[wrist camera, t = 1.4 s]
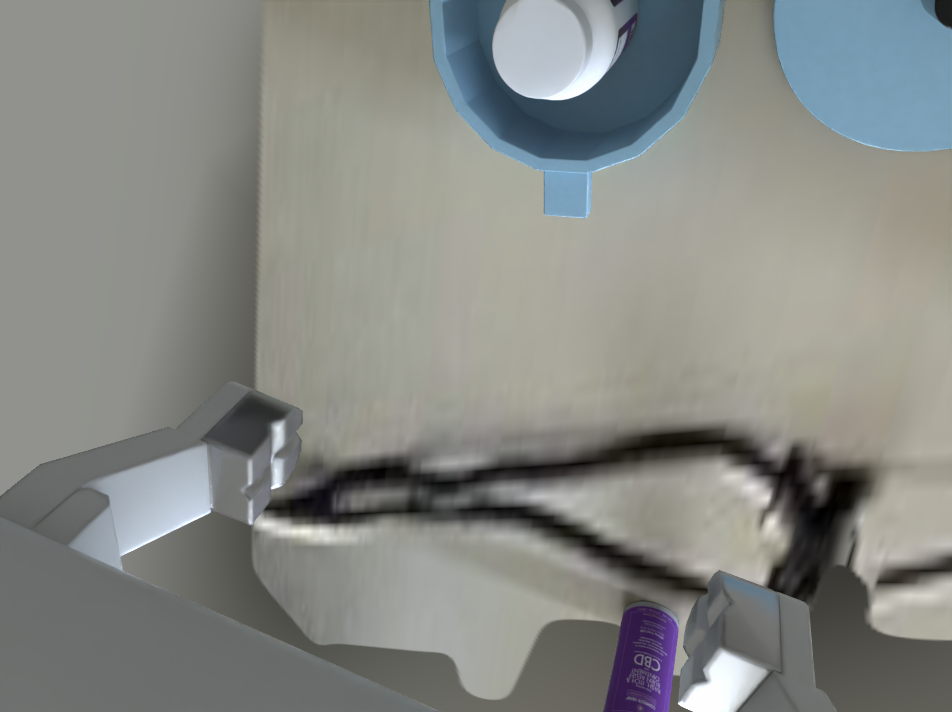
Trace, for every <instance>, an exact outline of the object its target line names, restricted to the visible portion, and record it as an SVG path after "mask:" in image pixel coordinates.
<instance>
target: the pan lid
mask: <svg viewBox="0 0 952 712" xmlns="http://www.w3.org/2000/svg"><path fill="white" fill-rule="evenodd" d="M774 36H775V42H776V47H777V53H778V57H779V60H780V63H781V66H782V69H783V72H784V74H785V76H786V78H787V80H788V82H789V84H790V86H791V88H792V90H793V91H794V93H795V94H796V96H797V97H798V98H799V100H800V101H801V103H802V104H803V105H804V106H805V107H806V108H807V109H808V110H809V111H810V112H811V113H812V114H813V115H814V116H815V117H816V118H817V119H818V120H819V121H821V122H822V123H823V124H825V125H826V126H827V127H829V128H830V129H832V130H834V131H835V132H837V133H839V134H841V135H843V136H845V137H846V138H849V139H851V140H854V141H857V142H859V143H862V144H865V145H869V146H873V147H877V148H882V149H887V150H897V151H934V150H942V149H950V148H952V0H775V2H774Z"/></svg>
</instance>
